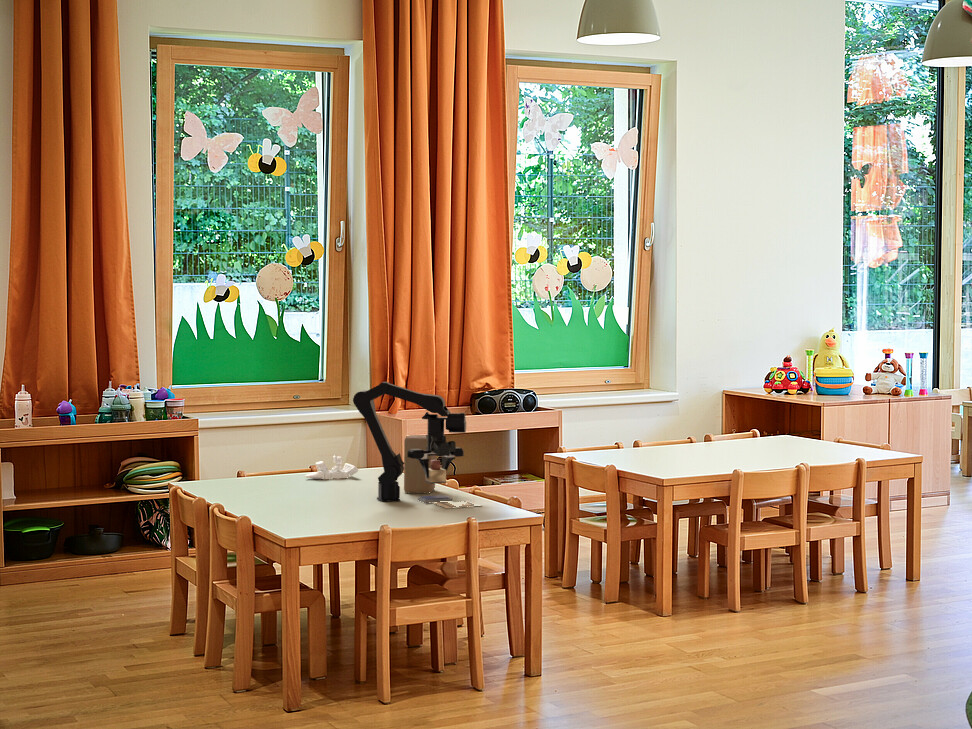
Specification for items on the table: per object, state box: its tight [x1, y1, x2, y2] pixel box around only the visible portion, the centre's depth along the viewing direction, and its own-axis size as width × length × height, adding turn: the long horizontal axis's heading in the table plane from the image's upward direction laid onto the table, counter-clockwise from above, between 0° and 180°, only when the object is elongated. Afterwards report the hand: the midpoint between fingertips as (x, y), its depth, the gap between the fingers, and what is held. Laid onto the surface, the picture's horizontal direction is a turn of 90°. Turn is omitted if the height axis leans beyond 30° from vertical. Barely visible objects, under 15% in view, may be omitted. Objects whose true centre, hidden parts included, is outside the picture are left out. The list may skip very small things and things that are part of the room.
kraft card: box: [434, 500, 475, 509], centre depth 382 cm, size 13×11×1 cm
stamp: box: [425, 459, 447, 485], centre depth 389 cm, size 6×6×8 cm
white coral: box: [304, 455, 360, 480], centre depth 442 cm, size 11×20×9 cm, turn 116°
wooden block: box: [403, 434, 436, 494], centre depth 411 cm, size 10×10×20 cm
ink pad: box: [417, 494, 453, 504], centre depth 390 cm, size 10×7×2 cm
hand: (435, 477), depth 389 cm, fingers closed on stamp, 5 cm apart
